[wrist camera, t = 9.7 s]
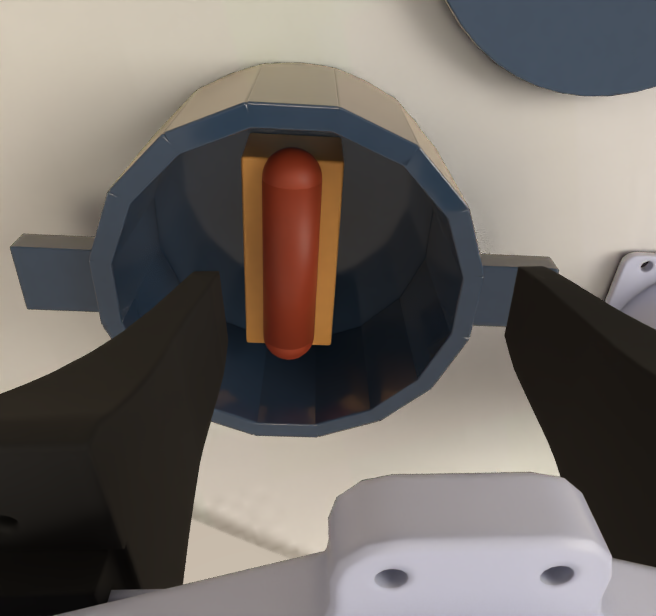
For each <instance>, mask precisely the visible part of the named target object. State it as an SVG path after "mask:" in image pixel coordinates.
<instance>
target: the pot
mask: <svg viewBox="0 0 656 616" xmlns="http://www.w3.org/2000/svg"><path fill="white" fill-rule="evenodd" d="M250 133H261V134H280V135H300V136H319V137H339V138H341V140H342V149H343V158H344V174H343V187H342V201H341V215H340V228H339V242H338V256H337V269H336V283H335V297H334V310H333V324H332V338H331V344H330V345H312V346H311V347H310V349H309V350H308V351H307V352H306V353H305V354H304V355H303V356H301V357H299V358H296V359H292V360H286V359H281V358H278V357H276V356H275V355H273V354H272V353H271V352H270V351H269V349H268V348H267V347H266V344H265V343H249V342H247V340H246V311H245V277H244V243H243V210H242V176H241V157H242V155H243V152H244V149H245V146H246V143H247V140H248V137H249V135H250ZM10 250H11V254H12V257H13V261H14V264H15V268H16V271H17V275H18V279H19V282H20V286H21V289H22V293H23V296H24V300H25V303H26V307H27V309H31V310H58V311H85V312H99V314H100V319H101V324H102V325H103V327H104V329H105V330H106V332H107V333H108V334H109V336H110V337H111V339H112V338H114V337H115V336H117V335H118V334H120V333H121V332H123V331H124V330H125V329H127V328H128V327H129V326H130V325H132V324H133V323H134V322H136V321H137V320H138V319H139V318H141V317H142V316H143V315H145V314H146V313H147V312H148V311H150V310H151V309H152V308H153V307H154V306H155V305H157V304H158V303H159V302H160V301H161V300H162V299H163V298H165V297H166V296H167V295H168V294H169V293H170V292H171V291H172V290H173V289H175V288H176V287H177V286H178V285H179V284H180V283H181V282H182V281H183V280H184V279H186V278H187V277H188V276H189V275H190V274H191V273H193V272H194V271H219V274H220V281H221V289H222V296H223V304H224V311H225V319H226V326H227V334H228V347H227V355H226V363H225V370H224V376H223V379H222V383H221V387H220V390H219V394H218V398H217V401H216V405H215V408H214V412H213V415H212V419H211V422H214V423H217V424H220V425H223V426H226V427H229V428H233V429H236V430H239V431H242V432H245V433H248V434H251V435H255V436H284V437H318V436H319V437H321V436H324V435H328V434H332V433H336V432H340V431H344V430H347V429H351V428H355V427H359V426H363V425H367V424H370V423H374V422H377V421H381V420H383V419H384V418H386V417H387V416H389V415H391V414H392V413H394V412H395V411H397V410H398V409H400V408H402V407H403V406H405V405H406V404H408V403H410V402H411V401H413V400H414V399H416V398H417V397H419V396H421V395H422V394H424V393H425V392H427V391H429V390H430V389H431V388H432V387H433V386H434V385H435V384H436V382H437V381H438V380H439V378H440V377H441V376H442V374H443V373H444V372H445V370H446V369H447V368H448V367H449V365H450V364H451V363H452V361H453V360H454V359H455V357H456V356H457V355H458V353H459V352H460V351H461V349H462V348H463V347H464V346H465V344H466V343H467V342H468V340H469V337H470V335H471V330H472V326H496V327H506V326H507V321H508V316H509V311H510V306H511V301H512V296H513V291H514V286H515V281H516V276H517V271H518V266H545V267H547V268H549V269H551V270H553V271H555V272H556V273H559V269H558V268H557V266H556V265H555V264H554V262H553V261H552V259H551V258H550V257H544V256H521V255H498V254H480V252H479V247H478V243H477V239H476V234H475V230H474V225H473V221H472V217H471V212H470V209H469V207H468V204H467V203H466V201H465V199H464V197H463V196H462V194H461V192H460V190H459V188H458V187H457V185H456V183H455V181H454V179H453V178H452V176H451V174H450V172H449V171H448V169H447V167H446V165H445V163H444V162H443V160H442V158H441V156H440V155H439V153H438V151H437V149H436V148H435V147H434V145H433V144H432V143H431V141H430V140H429V139H428V138H427V136H426V135H425V134H424V133H423V131H422V130H421V129H420V127H419V126H418V124H417V123H416V121H415V120H414V119H413V118H412V117H411V116H410V115H409V114H408V113H407V111H406V110H405V109H404V108H403V106H402V105H401V104H400V103H399V101H398V100H396V99H395V98H394V97H392V96H390V95H388V94H386V93H385V92H383V91H382V90H380V89H379V88H377V87H375V86H374V85H372V84H370V83H369V82H367V81H365V80H363V79H361V78H358V77H356V76H354V75H351V74H349V73H347V72H345V71H341V70H339V69H337V68H333V67H326V66H323V65H315V64H308V63H300V62H294V63H271V64H269V63H264V64H259V65H257V66H253V67H250V68H246V69H243V70H240V71H237V72H233V73H231V74H229V75H227V76H224V77H222V78H220V79H218V80H216V81H214V82H212V83H210V84H208V85H205V86H203V87H200V88H199V89H198V90H196V91H195V92H194V93H193V94H192V95H191V96H190V97H189V98H188V99H187V100H186V102H185V103H184V104H183V105H182V106H181V107H180V108H179V109H178V110H177V111H176V112H175V113H174V114H173V115H172V116H171V117H170V118H169V120H168V121H167V122H166V123H165V124H164V125H163V126H162V127H161V128H160V129H159V130H158V131H157V132H156V133H155V134H154V136H153V137H152V138H151V139H150V140H149V142H148V143H147V144H146V145H145V146H144V148H143V149H142V150H141V151H140V152H139V154H138V155H137V156H136V157H135V158H134V160H133V161H132V162H131V163H130V164H129V166H128V167H127V168H126V169H125V170H124V172H123V173H122V174H121V175H120V176H119V178H118V179H117V180H116V181H115V182H114V184H113V185H112V186H111V187H110V189H109V191H108V192H107V195H106V198H105V202H104V205H103V209H102V212H101V216H100V220H99V223H98V227H97V230H96V234H95V237H88V236H65V235H42V234H22V235H21V236H20V237H19V238H18V239H17V240H16V241H15V242H14V243H13V244H12V245H11V246H10Z"/></svg>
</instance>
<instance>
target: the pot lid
mask: <svg viewBox="0 0 656 616" xmlns="http://www.w3.org/2000/svg"><path fill="white" fill-rule="evenodd" d="M445 2H446V4H447V5H448V7H449V9H450V11H451V12H452V14H453V16H454V17H455V19H456V21H457V22H458V24H459V25H460V27H461V28H462V29H463V30H464V32H465V33H466V34H467V35H468V37H469V38H470V39H471V40H472V42H473V43H474V44H475V45H476V46H477V47H478V48H479V49H480V50H481V51H482V52H483V53H485V54H486V55H487V56H488V57H489V58H490V59H491V60H492V61H493V62H495V63H496V64H498V65H499V66H501V67H502V68H504V69H505V70H507V71H508V72H510V73H511V74H513V75H514V76H516V77H518V78H520V79H522V80H524V81H526V82H529V83H531V84H533V85H535V86H537V87H541V88H544V89H548V90H551V91H555V92H558V93H563V94H571V95H578V96H613V95H620V94H627V93H634V92H638V91H642V90H645V89H649V88H653V87H656V0H445Z"/></svg>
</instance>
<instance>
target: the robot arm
mask: <svg viewBox="0 0 656 616" xmlns="http://www.w3.org/2000/svg"><path fill="white" fill-rule="evenodd" d="M646 261H649V262H648V264H647V265H646V266H644V267H641V265H642V264H643V263H644V262H646ZM505 339H506V343H507V347H508V350H509V354H510V357H511V361H512V364H513V367H514V370H515V372H516V375H517V377H518V379H519V381H520V383H521V386H522V388H523V390H524V392H525V394H526V396H527V399H528V401H529V403H530V405H531V407H532V409H533V411H534V413H535V415H536V418H537V420H538V422H539V424H540V426H541V428H542V430H543V432H544V435H545V437H546V439H547V441H548V443H549V446H550V448H551V451H552V453H553V455H554V458H555V461H556V464H557V467H558V470H559V473H560V476H561V477H557V476H551V475H545V474H539V473H534V472H501V473H444V474H391V475H386V476H381V477H376V478H371V479H365V480H362V481H360V482H359V483H357V484H356V485H354V486H353V487H351V488H350V489H348V490H347V491H345V492H344V493H342V494H341V495H339V496H338V497H336V500H335V502H334V505H333V507H332V510H331V512H330V515H329V517H328V526H329V540H328V545H327V548H326V550H325V551H322V552H318V553H314V554H310V555H306V556H301V557H297V558H293V559H289V560H285V561H280V562H276V563H272V564H268V565H264V566H260V567H256V568H251V569H247V570H243V571H238V572H235V573H230V574H226V575H222V576H217V577H213V578H209V579H205V580H201V581H197V582H192V583H188V584H184V585H183V578H184V571H185V563H186V555H187V546H188V539H189V532H190V525H191V518H192V511H193V504H194V497H195V491H196V485H197V478H198V472H199V466H200V461H201V456H202V452H203V448H204V444H205V440H206V437H207V433H208V430H209V426H210V423H211V419H212V415H213V412H214V408H215V405H216V401H217V398H218V394H219V390H220V387H221V383H222V379H223V376H224V370H225V363H226V355H227V347H228V334H227V326H226V319H225V311H224V304H223V296H222V289H221V281H220V274H219V271H194V272H193V273H191V274H190V275H189V276H188V277H187V278H186V279H184V280H183V281H182V282H181V283H180V284H179V285H178V286H177V287H176V288H175V289H173V290H172V291H171V292H170V293H169V294H168V295H167V296H166V297H165V298H163V299H162V300H161V301H160V302H159V303H158V304H157V305H155V306H154V307H153V308H152V309H151V310H150V311H148V312H147V313H146V314H145V315H143V316H142V317H141V318H139V319H138V320H137V321H136V322H134V323H133V324H132V325H130V326H129V327H128V328H127V329H125V330H124V331H123V332H121V333H120V334H118V335H117V336H115V337H114V338H112V339H111V340H109V341H108V342H106V343H105V344H103V345H102V346H100V347H98V348H97V349H95V350H94V351H92V352H90V353H88V354H87V355H85V356H83V357H81V358H79V359H77V360H75V361H73V362H71V363H70V364H68V365H66V366H64V367H62V368H60V369H58V370H56V371H54V372H52V373H50V374H48V375H46V376H43V377H41V378H39V379H36V380H34V381H32V382H30V383H27V384H25V385H22V386H20V387H17V388H15V389H12V390H10V391H7V392H4V393H2V394H0V616H656V253H652V252H631V253H629V254H626V255H625V256H624V257H623V258H622V260H621V261H620V264H619V266H618V269H617V271H616V274H615V277H614V279H613V282H612V284H611V287H610V290H609V292H608V295H607V297H606V300H605V302H604V301H603V300H601V299H599V298H598V297H596V296H594V295H593V294H591V293H589V292H588V291H586V290H585V289H583V288H581V287H580V286H578V285H576V284H575V283H573V282H572V281H570V280H568V279H567V278H565V277H563V276H562V275H560V274H558V273H556V272H555V271H553V270H551V269H549V268H547V267H545V266H518V271H517V276H516V281H515V286H514V291H513V296H512V301H511V306H510V311H509V316H508V321H507V326H506V331H505Z"/></svg>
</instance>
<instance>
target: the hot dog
mask: <svg viewBox="0 0 656 616" xmlns="http://www.w3.org/2000/svg"><path fill="white" fill-rule="evenodd" d="M343 174H344V158H343V149H342V140H341V138H339V137H319V136H300V135H280V134H261V133H250V135H249V137H248V140H247V143H246V146H245V149H244V152H243V155H242V157H241V176H242V210H243V243H244V277H245V311H246V340H247V342H249V343H265V344H266V347H267V348H268V349H269V351H270V352H271V353H272V354H273V355H275V356H276V357H278V358H281V359H286V360H292V359H296V358H299V357H301V356H303V355H304V354H305V353H306V352H307V351H308V350H309V349H310V347H311V346H312V345H330V344H331V338H332V324H333V310H334V297H335V283H336V269H337V256H338V242H339V228H340V215H341V201H342V187H343Z"/></svg>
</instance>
